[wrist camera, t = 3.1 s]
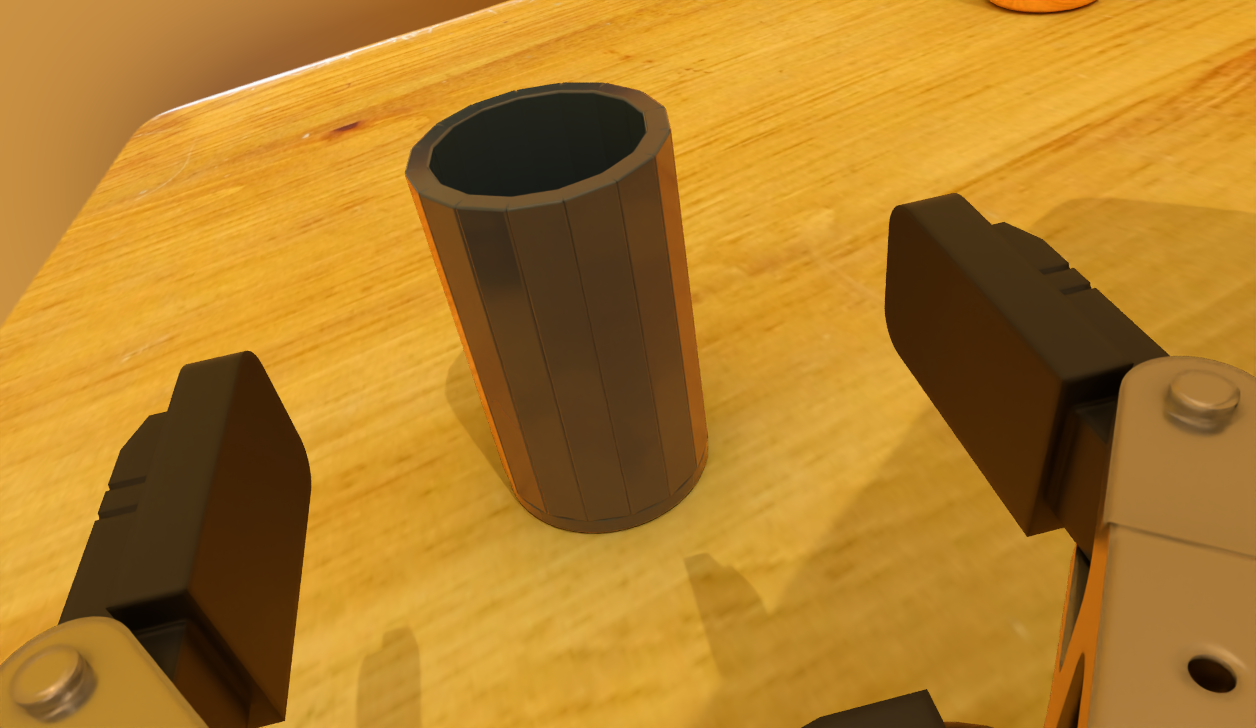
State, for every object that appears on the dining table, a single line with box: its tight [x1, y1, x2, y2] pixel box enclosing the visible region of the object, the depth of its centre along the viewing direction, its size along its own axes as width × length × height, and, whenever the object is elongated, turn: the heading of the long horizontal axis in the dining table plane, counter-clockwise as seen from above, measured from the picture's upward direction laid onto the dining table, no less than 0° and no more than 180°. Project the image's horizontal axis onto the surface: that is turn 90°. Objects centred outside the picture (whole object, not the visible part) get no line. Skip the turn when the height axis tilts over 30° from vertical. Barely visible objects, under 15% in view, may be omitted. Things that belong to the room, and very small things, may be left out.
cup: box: [405, 83, 708, 533], centre depth 25 cm, size 6×6×11 cm
